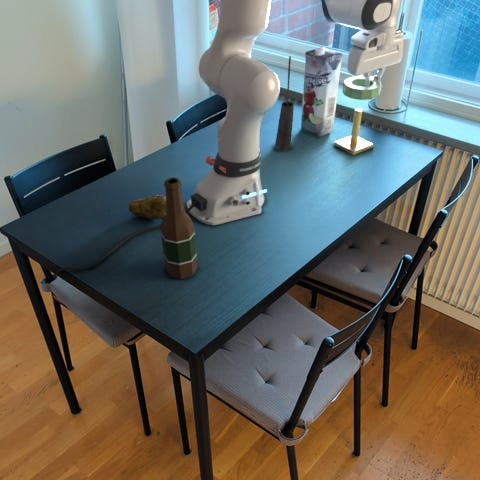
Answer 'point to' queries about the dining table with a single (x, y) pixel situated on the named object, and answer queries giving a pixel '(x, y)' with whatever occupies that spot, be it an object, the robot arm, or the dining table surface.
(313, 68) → the juice carton
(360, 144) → the stand
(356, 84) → the ring
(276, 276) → the dining table surface
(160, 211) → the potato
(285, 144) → the butter churn
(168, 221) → the beer bottle
